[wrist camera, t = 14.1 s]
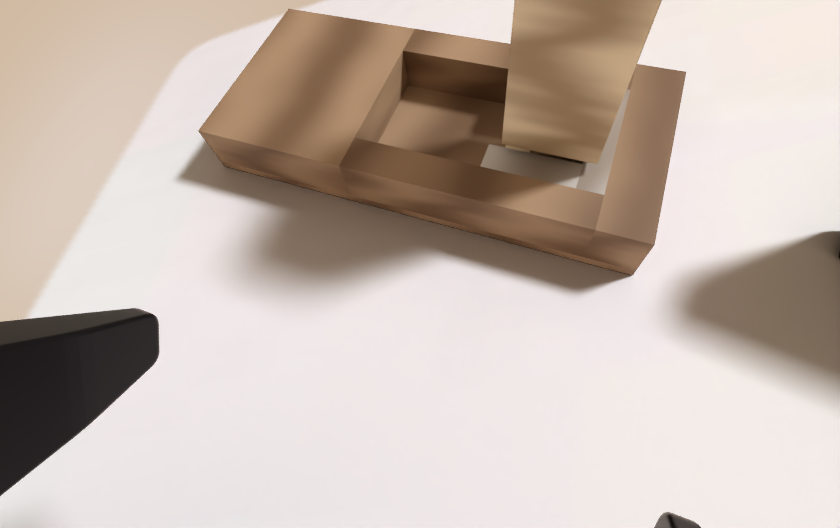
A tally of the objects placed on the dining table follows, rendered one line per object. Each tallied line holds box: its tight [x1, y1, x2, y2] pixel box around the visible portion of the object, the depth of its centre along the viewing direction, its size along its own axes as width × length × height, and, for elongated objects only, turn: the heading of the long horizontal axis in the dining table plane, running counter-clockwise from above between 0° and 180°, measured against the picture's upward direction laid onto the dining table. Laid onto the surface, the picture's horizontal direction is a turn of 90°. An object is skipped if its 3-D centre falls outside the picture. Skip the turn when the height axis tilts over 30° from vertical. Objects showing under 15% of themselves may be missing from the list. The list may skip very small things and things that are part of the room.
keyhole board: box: [199, 9, 686, 275], centre depth 26 cm, size 24×11×3 cm, turn 69°
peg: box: [502, 0, 662, 164], centre depth 19 cm, size 5×5×15 cm
